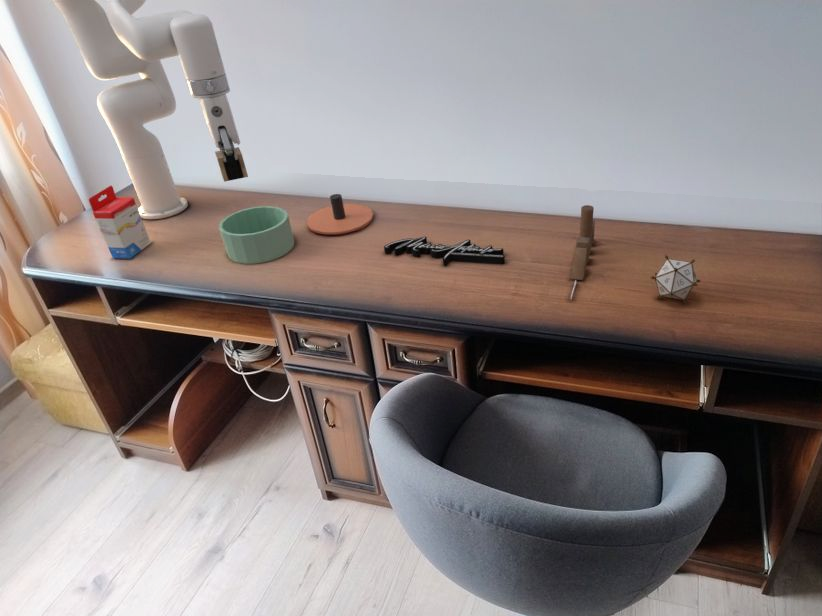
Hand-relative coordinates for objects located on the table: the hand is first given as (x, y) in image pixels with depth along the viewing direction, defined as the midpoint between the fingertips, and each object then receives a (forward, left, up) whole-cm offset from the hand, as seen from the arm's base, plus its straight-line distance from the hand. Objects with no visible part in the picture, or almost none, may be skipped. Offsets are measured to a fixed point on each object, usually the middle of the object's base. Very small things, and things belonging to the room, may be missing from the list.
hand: (234, 173), depth 136 cm
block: (0, 0, 0) cm, 0 cm away
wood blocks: (+45, +59, -18) cm, 77 cm away
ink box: (-15, -27, -18) cm, 36 cm away
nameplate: (+25, +37, -18) cm, 48 cm away
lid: (-4, +21, -18) cm, 28 cm away
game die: (+63, +68, -18) cm, 95 cm away
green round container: (0, +1, -18) cm, 18 cm away
